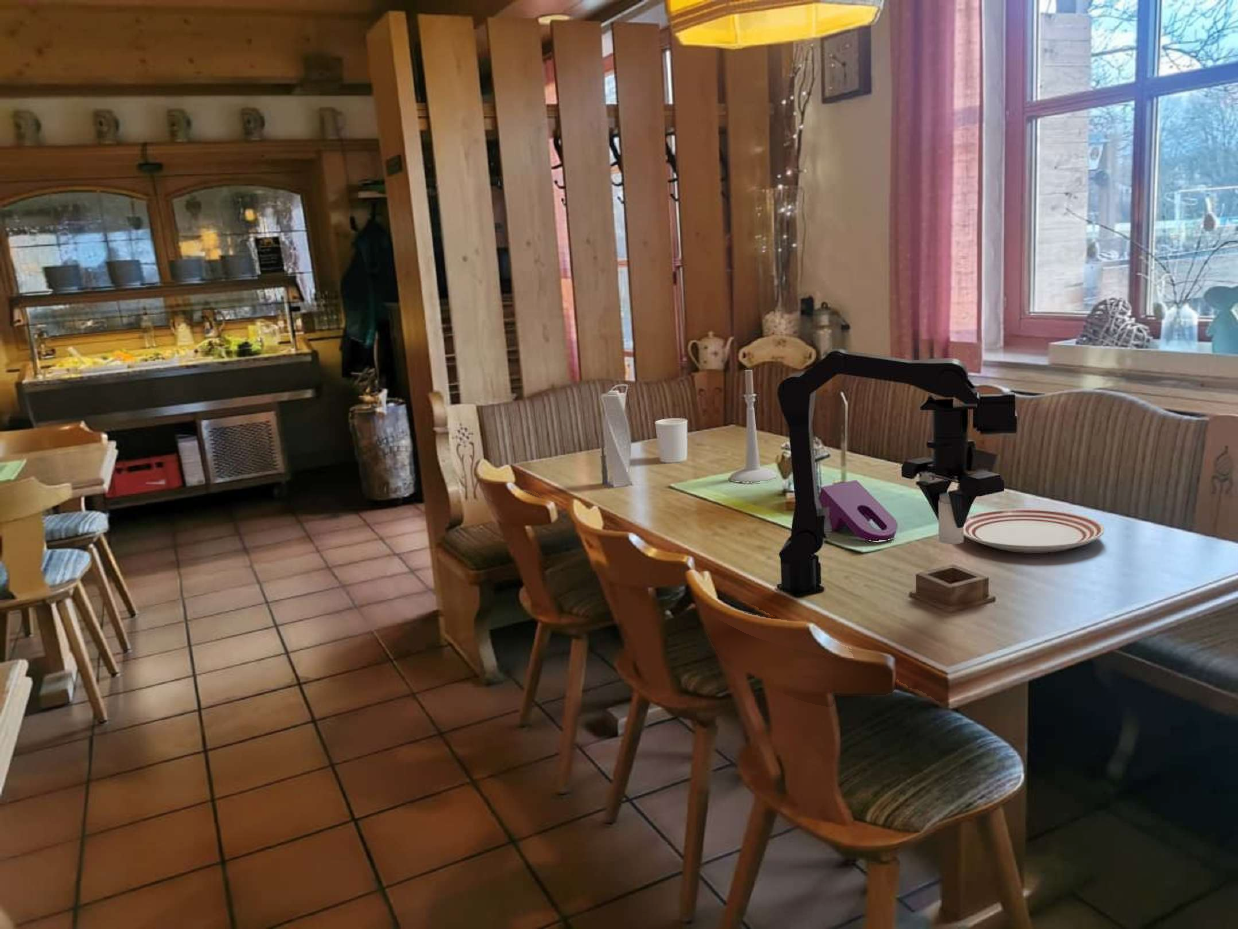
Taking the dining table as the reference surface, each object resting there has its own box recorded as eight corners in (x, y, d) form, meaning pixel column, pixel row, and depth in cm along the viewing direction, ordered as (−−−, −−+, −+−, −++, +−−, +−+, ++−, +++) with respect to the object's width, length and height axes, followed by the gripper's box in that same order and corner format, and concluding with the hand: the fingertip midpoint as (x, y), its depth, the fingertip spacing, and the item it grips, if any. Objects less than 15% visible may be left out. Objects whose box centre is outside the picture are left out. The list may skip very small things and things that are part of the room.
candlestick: (787, 476, 255) (783, 366, 248) (751, 486, 248) (746, 373, 242) (755, 470, 265) (750, 364, 259) (720, 478, 259) (714, 370, 252)
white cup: (690, 462, 281) (688, 422, 278) (657, 464, 281) (655, 425, 279) (688, 455, 291) (686, 417, 288) (657, 457, 291) (654, 419, 288)
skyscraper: (629, 480, 266) (622, 382, 260) (639, 486, 259) (631, 385, 253) (601, 484, 264) (593, 385, 258) (610, 490, 256) (602, 388, 250)
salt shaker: (950, 545, 159) (949, 499, 157) (933, 539, 162) (933, 495, 161) (968, 541, 160) (968, 495, 158) (952, 535, 164) (951, 491, 162)
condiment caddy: (949, 612, 157) (949, 590, 156) (909, 594, 166) (909, 573, 165) (995, 600, 161) (995, 578, 160) (953, 583, 170) (953, 562, 169)
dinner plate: (927, 536, 198) (927, 520, 197) (1025, 513, 208) (1025, 498, 207) (1030, 572, 173) (1030, 555, 172) (1136, 544, 183) (1137, 528, 182)
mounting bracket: (895, 560, 202) (846, 509, 214) (906, 530, 197) (856, 479, 209) (859, 569, 198) (812, 516, 211) (870, 539, 193) (821, 486, 206)
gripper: (1030, 435, 152) (1029, 528, 155) (948, 421, 169) (949, 505, 172) (976, 446, 148) (977, 541, 151) (898, 430, 164) (900, 516, 168)
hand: (951, 524), depth 161 cm, fingers closed on salt shaker, 4 cm apart
